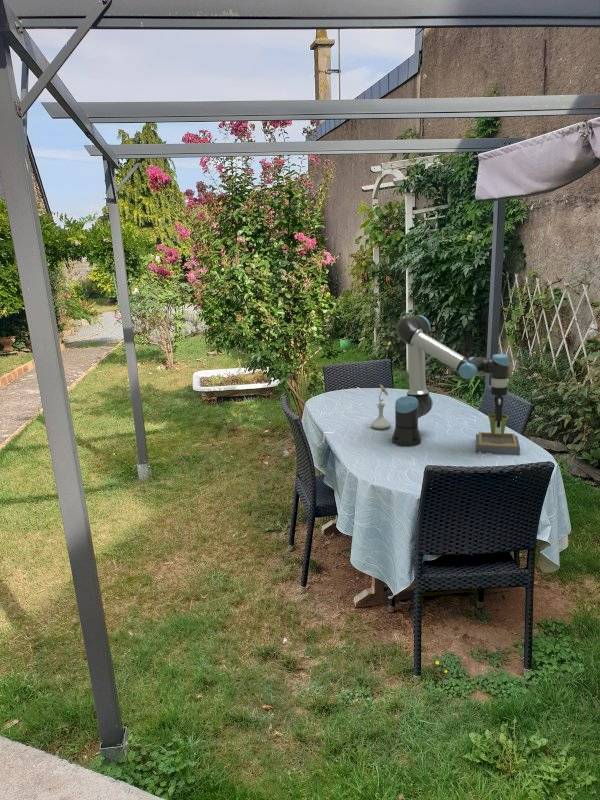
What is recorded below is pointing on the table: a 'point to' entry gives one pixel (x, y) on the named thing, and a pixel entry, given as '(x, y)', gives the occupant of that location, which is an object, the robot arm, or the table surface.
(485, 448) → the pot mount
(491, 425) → the plant pot
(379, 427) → the flower in vase
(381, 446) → the table surface
